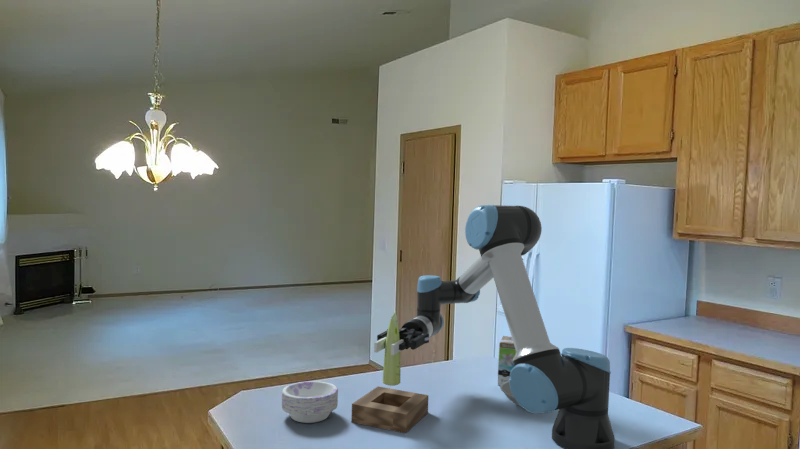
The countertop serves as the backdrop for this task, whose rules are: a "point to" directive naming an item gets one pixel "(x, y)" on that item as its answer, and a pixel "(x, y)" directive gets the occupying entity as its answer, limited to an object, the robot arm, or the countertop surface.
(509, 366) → the tea box
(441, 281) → the robot arm
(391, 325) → the tube
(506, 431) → the countertop surface
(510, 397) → the dish
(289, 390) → the paper bowls
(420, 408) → the socket block
